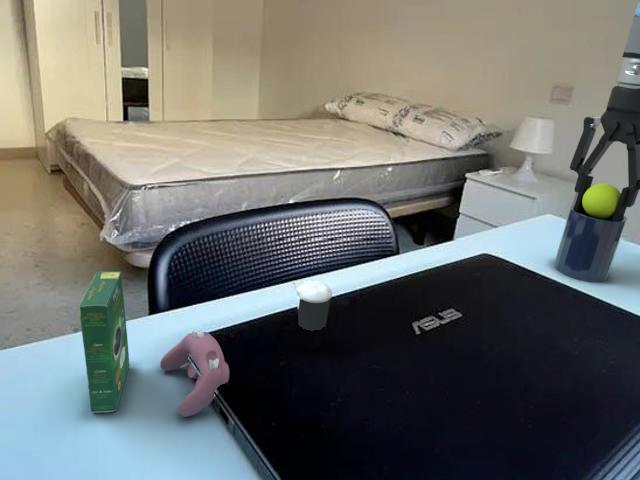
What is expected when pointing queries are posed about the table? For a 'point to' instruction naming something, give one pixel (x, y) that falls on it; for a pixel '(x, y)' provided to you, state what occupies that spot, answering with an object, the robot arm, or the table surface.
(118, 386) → the coffee box
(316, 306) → the milkshake
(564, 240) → the tube
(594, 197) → the tennis ball
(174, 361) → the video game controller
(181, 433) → the table surface
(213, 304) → the table surface
